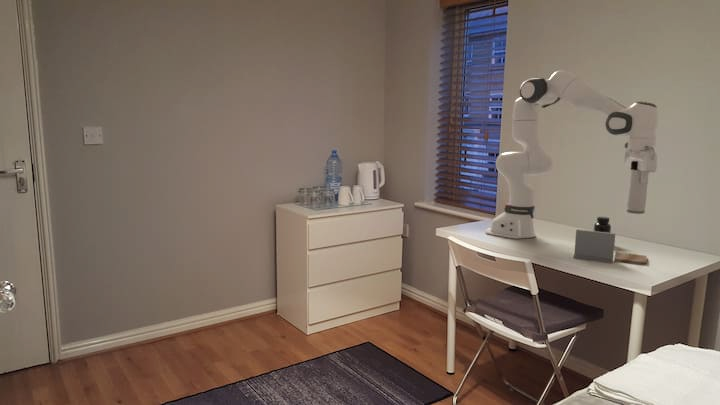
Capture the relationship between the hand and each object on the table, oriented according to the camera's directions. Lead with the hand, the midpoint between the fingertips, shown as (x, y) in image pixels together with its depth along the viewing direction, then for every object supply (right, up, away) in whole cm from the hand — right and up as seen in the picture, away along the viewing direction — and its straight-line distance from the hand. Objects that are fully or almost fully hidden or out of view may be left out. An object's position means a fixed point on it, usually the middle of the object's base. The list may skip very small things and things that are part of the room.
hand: (638, 181), depth 202 cm
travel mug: (0, -12, +2) cm, 12 cm away
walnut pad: (0, -31, +5) cm, 31 cm away
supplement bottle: (-1, -27, +29) cm, 40 cm away
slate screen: (-15, -31, +5) cm, 34 cm away
